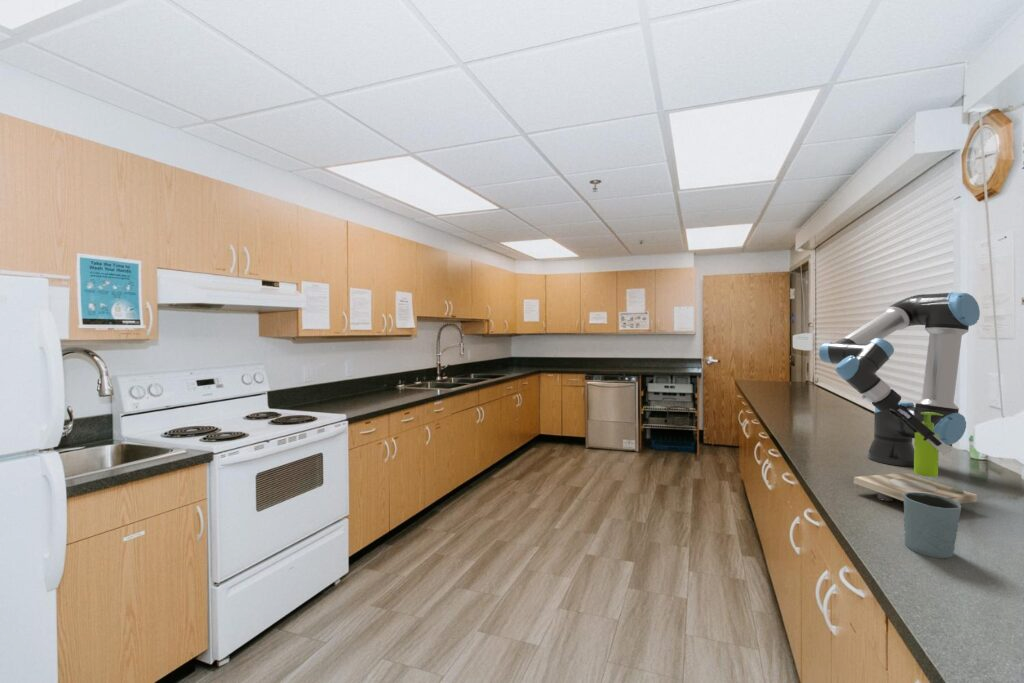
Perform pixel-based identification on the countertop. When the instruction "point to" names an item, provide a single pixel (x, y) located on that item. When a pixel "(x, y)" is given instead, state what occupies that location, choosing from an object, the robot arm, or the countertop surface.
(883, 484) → the stand
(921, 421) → the robot arm
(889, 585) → the countertop surface
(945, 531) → the blue-grey cup
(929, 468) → the soap dispenser
